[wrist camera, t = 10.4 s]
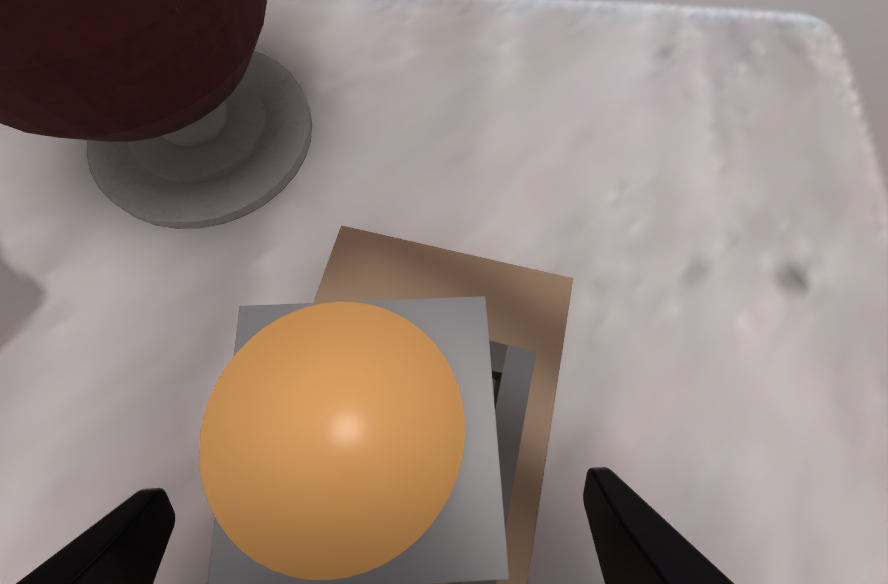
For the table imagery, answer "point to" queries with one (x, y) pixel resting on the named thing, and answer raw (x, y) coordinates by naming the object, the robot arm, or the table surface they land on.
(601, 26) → the table surface
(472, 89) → the table surface
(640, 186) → the table surface
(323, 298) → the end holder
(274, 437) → the connector plug
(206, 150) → the mate gourd
